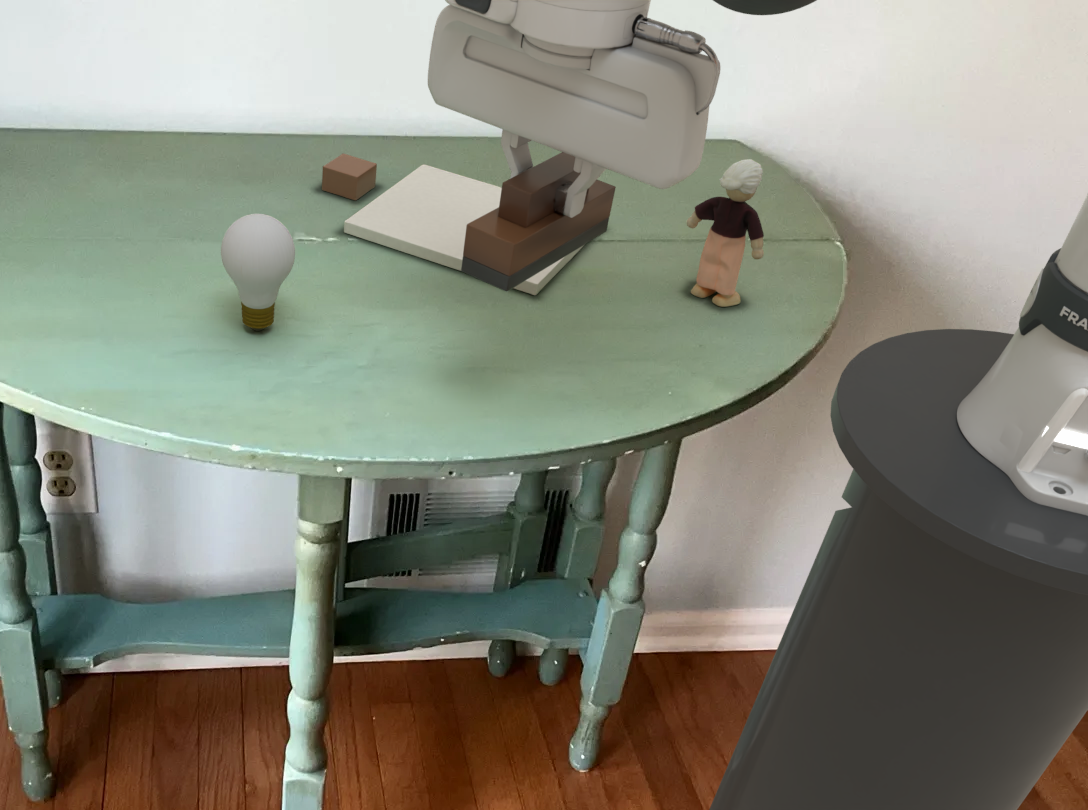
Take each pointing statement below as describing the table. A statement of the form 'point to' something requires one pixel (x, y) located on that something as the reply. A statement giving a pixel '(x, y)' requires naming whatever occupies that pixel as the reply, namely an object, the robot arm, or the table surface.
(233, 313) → the table surface
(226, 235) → the light bulb
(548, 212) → the brush
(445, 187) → the tile
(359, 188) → the brown square block
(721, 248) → the grandmother figurine
